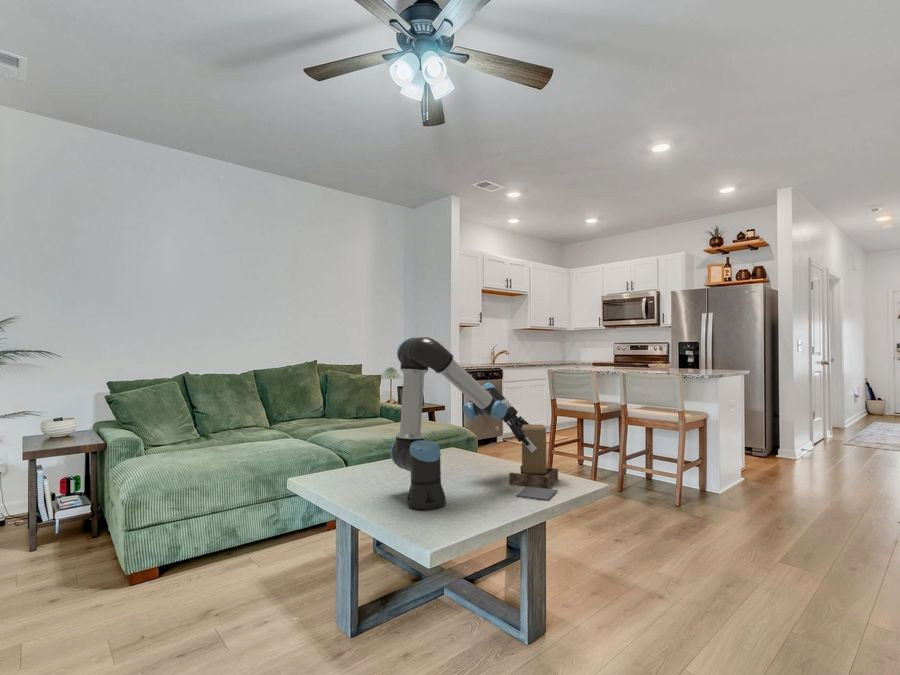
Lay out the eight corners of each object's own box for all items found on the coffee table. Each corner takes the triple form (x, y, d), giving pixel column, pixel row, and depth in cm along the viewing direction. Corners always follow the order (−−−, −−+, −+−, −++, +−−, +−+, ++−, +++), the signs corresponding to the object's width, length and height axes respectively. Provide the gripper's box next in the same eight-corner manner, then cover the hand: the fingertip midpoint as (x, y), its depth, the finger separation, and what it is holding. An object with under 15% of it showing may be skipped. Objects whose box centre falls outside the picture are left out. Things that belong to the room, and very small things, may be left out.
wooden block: (544, 469, 212) (543, 424, 213) (546, 474, 202) (546, 427, 203) (522, 468, 213) (521, 424, 214) (523, 474, 203) (522, 427, 204)
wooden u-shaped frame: (509, 484, 205) (509, 473, 205) (521, 476, 219) (521, 465, 219) (547, 489, 197) (547, 477, 197) (558, 479, 211) (557, 468, 211)
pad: (516, 497, 188) (516, 495, 188) (526, 488, 200) (526, 486, 200) (548, 501, 182) (548, 499, 182) (557, 491, 194) (557, 489, 194)
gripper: (501, 408, 203) (536, 447, 195) (520, 403, 224) (553, 437, 217) (489, 420, 205) (524, 459, 197) (510, 413, 227) (541, 448, 219)
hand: (539, 447), depth 207 cm, fingers closed on wooden block, 12 cm apart
